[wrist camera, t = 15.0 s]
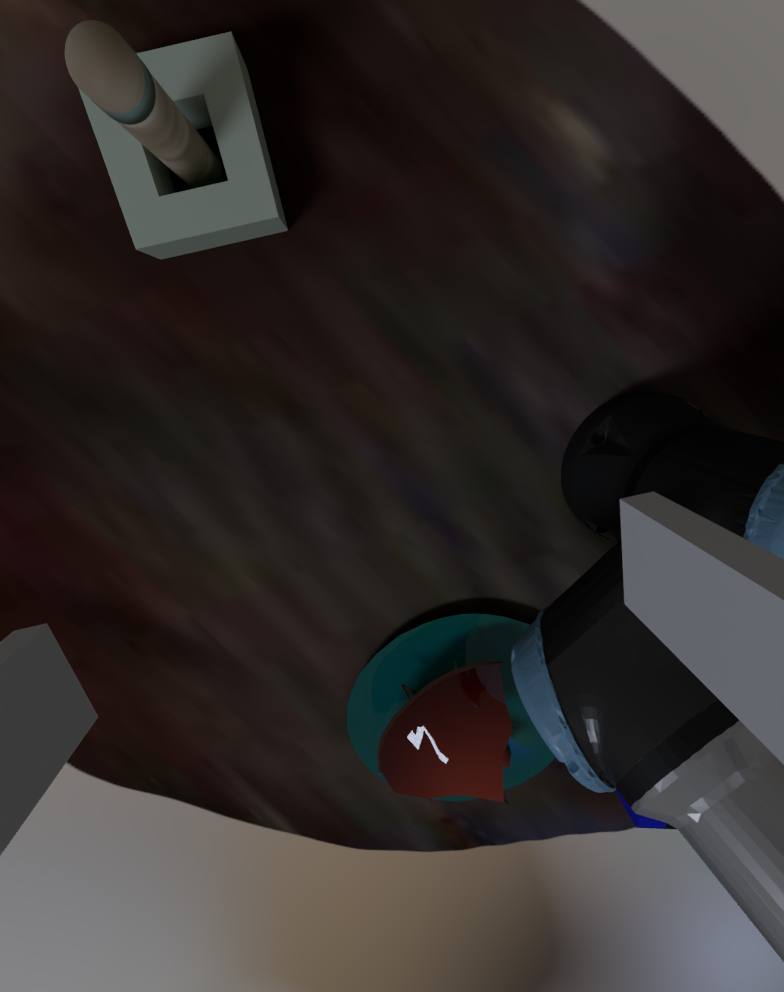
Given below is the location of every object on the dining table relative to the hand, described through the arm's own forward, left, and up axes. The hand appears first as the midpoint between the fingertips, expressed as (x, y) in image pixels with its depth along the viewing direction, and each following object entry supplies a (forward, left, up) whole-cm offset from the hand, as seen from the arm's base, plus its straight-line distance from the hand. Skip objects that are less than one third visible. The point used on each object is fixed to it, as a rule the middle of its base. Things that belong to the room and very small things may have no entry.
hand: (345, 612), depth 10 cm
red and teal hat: (-4, +38, -35) cm, 52 cm away
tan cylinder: (+8, -21, -35) cm, 41 cm away
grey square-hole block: (+8, -21, -35) cm, 41 cm away
